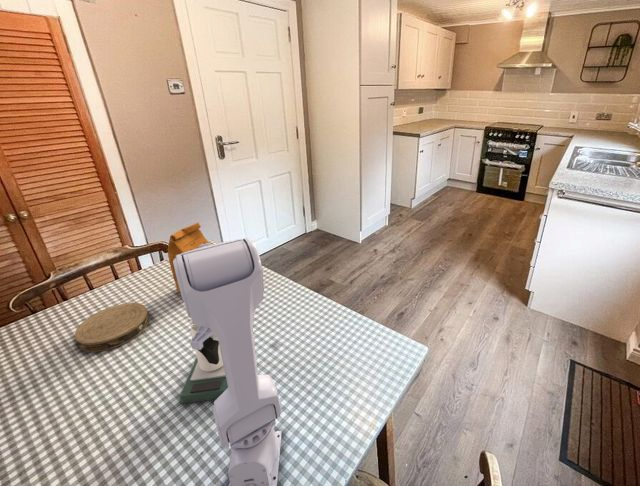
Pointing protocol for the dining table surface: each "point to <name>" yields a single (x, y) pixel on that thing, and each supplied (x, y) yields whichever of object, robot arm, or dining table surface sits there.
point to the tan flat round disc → (112, 327)
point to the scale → (203, 384)
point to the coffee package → (184, 244)
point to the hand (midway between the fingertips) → (224, 349)
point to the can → (201, 359)
